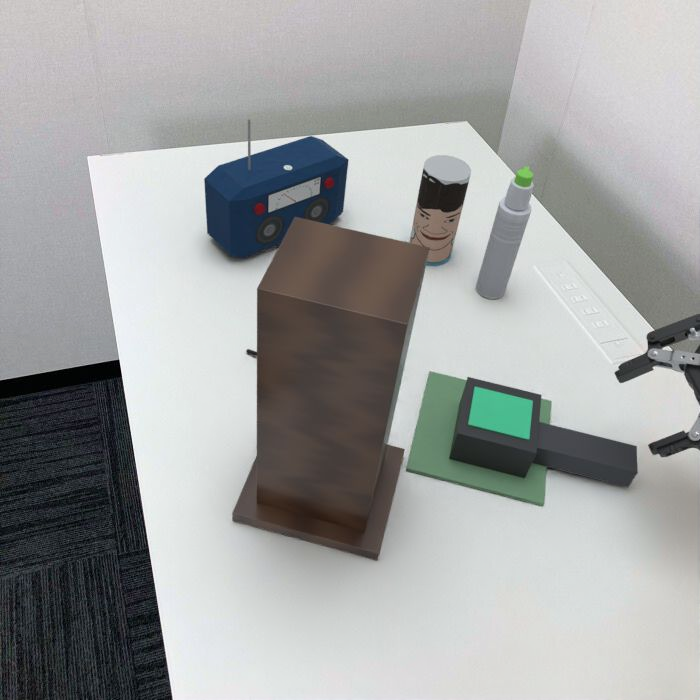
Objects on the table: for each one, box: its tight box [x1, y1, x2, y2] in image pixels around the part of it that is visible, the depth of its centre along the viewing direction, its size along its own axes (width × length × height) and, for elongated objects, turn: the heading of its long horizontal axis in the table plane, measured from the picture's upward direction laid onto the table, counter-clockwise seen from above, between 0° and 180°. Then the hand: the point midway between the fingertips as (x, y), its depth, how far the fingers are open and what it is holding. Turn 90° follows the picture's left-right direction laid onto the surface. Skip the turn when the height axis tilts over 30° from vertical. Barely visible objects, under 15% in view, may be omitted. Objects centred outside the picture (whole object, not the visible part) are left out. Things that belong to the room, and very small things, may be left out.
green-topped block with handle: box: [449, 376, 639, 488], centre depth 87 cm, size 21×9×5 cm, turn 76°
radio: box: [203, 118, 349, 259], centre depth 107 cm, size 21×9×20 cm, turn 129°
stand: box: [231, 217, 430, 561], centre depth 71 cm, size 16×14×32 cm
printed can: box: [408, 154, 472, 267], centre depth 109 cm, size 7×7×15 cm
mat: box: [405, 370, 553, 507], centre depth 90 cm, size 16×16×1 cm
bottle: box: [475, 165, 534, 300], centre depth 102 cm, size 4×4×20 cm
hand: (633, 413), depth 77 cm, fingers open, 8 cm apart
